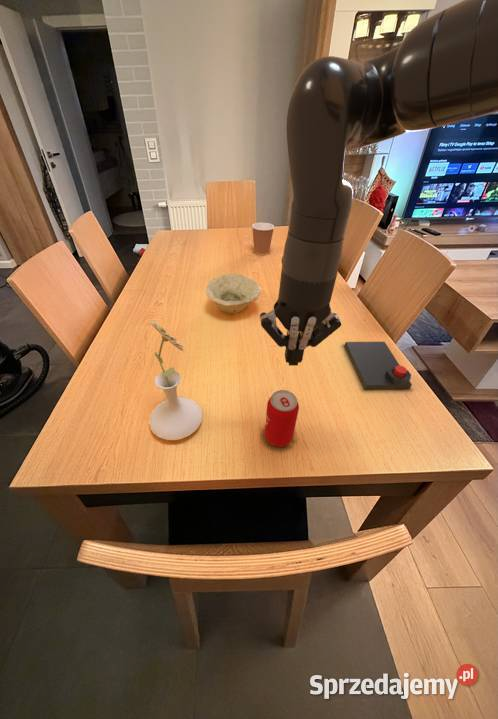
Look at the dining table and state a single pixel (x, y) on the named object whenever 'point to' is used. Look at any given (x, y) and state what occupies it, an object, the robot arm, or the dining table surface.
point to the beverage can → (281, 418)
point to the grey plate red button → (376, 366)
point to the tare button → (399, 371)
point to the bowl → (233, 292)
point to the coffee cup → (262, 237)
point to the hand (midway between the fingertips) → (292, 362)
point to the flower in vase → (172, 401)
